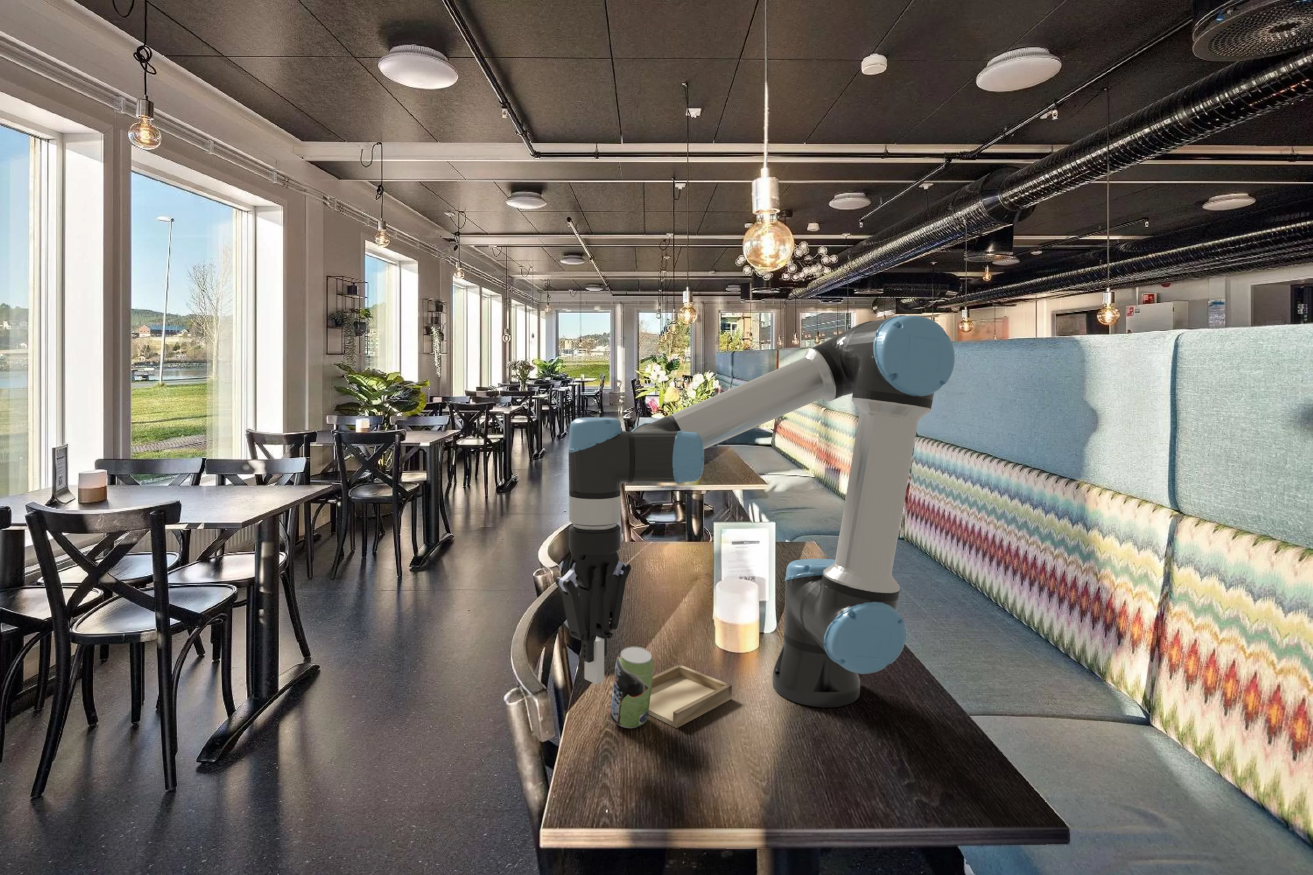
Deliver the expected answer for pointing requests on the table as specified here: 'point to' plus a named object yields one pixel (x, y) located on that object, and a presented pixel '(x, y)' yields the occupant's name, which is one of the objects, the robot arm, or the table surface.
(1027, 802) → the table surface
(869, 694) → the table surface
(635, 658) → the beverage can
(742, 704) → the table surface
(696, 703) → the beige tray
